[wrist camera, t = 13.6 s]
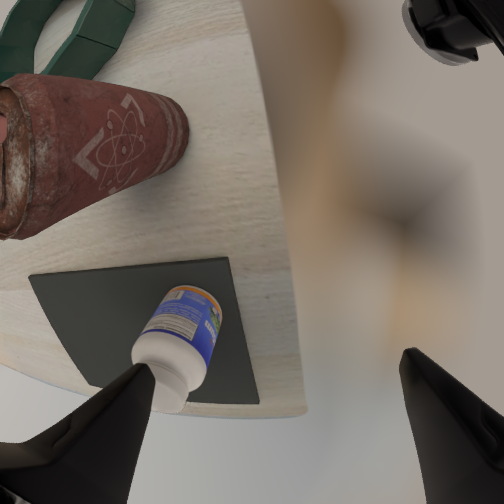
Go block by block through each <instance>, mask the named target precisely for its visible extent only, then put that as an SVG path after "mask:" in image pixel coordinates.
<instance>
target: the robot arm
mask: <svg viewBox="0 0 504 504" xmlns="http://www.w3.org/2000/svg"><path fill="white" fill-rule="evenodd" d="M411 3H412V4H411V5H412V8H413V10H414V13H415V16H416V19H417V22H418V25H419V27H420V30H421V33H422V37H423V40H424V44H425V46H426V47H427V48H428V49H430V50H435V51H439V52H443V53H447V54H451V55H454V56H458V57H461V58H465V59H468V60H471V61H478V54H477V50H476V47H478V46H481V45H485V44H488V43H493V42H494V43H495V44H496V46H497V47H498V48H499V50H500V51H501V52H502V54H503V55H504V0H411ZM429 43H430V44H431V46H430V45H429ZM399 373H400V377H401V383H402V388H403V394H404V400H405V406H406V410H407V414H408V417H409V421H410V425H411V429H412V433H413V437H414V441H415V445H416V449H417V454H418V458H419V463H420V467H421V473H422V478H423V483H424V489H425V495H426V501H427V504H504V417H503V416H502V415H500V414H499V413H498V412H496V411H495V410H494V409H492V408H491V407H490V406H489V405H487V404H486V403H485V402H484V401H482V400H481V399H480V398H479V397H478V396H477V395H475V394H474V393H473V392H472V391H470V390H469V389H468V388H467V387H465V386H464V385H463V384H462V383H461V382H459V381H458V380H457V379H456V378H454V377H453V376H452V375H450V374H449V373H448V372H447V371H445V370H444V369H443V368H442V367H440V366H439V365H438V364H437V363H435V362H434V361H433V360H432V359H430V358H429V357H428V356H426V355H425V354H424V353H422V352H421V351H420V350H419V349H417V348H415V347H412V348H408V349H405V350H404V352H403V355H402V358H401V361H400V365H399ZM155 385H156V379H155V376H154V375H153V373H152V371H151V369H150V367H149V366H148V365H147V364H146V363H136V364H134V365H133V366H132V367H130V368H129V369H128V370H127V371H125V372H124V373H123V374H121V375H120V376H119V377H118V378H116V379H115V380H114V381H112V382H111V383H110V384H108V385H107V386H106V387H104V388H103V389H102V390H101V391H99V392H98V393H97V394H95V395H94V396H93V397H91V398H90V399H89V400H87V401H86V402H85V403H83V404H82V405H81V406H80V407H78V408H77V409H76V410H74V411H73V412H72V413H70V414H69V415H67V416H66V417H65V418H63V419H62V420H61V421H59V422H58V423H56V424H55V425H53V426H52V427H50V428H48V429H47V430H45V431H43V432H42V433H40V434H38V435H37V436H35V437H33V438H32V439H30V440H28V441H26V442H23V443H5V442H0V504H127V500H128V496H129V491H130V487H131V483H132V479H133V475H134V471H135V467H136V464H137V460H138V456H139V452H140V448H141V445H142V441H143V438H144V434H145V431H146V427H147V424H148V420H149V417H150V412H151V406H152V401H153V395H154V390H155Z"/></svg>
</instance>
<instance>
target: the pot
mask: <svg viewBox="0 0 504 504" xmlns="http://www.w3.org/2000/svg"><path fill="white" fill-rule="evenodd" d="M62 1H63V0H18V1H17V2H16V4H15V5H14V6H13V8H12V9H11V11H10V12H9V15H8V16H7V18H6V20H5V22H4V24H3V27H2V30H1V31H0V83H3V82H4V81H6V80H8V79H10V78H12V77H14V76H16V75H18V74H20V73H26V74H34V73H33V62H34V47H35V45H36V42H37V40H38V37H39V35H40V32H41V30H42V28H43V26H44V23H45V22H46V20H47V19H48V18H49V16H50V15H51V14H52V13H53V11H54V10H55V9H56V8H57V7H58V6H59V4H60V3H61V2H62ZM134 13H135V0H88V1H87V2H86V4H85V6H84V8H83V10H82V12H81V14H80V16H79V18H78V20H77V22H76V24H75V26H74V28H73V31H72V33H71V34H70V36H69V37H68V38H67V39H66V41H65V42H64V43H63V45H62V46H61V47H60V48H59V50H58V51H57V52H56V54H55V55H54V57H53V58H52V59H51V61H50V62H49V64H48V65H47V67H46V68H45V70H44V71H42V72H41V73H40V74H43V75H55V76H64V77H73V78H80V79H87V80H92V78H93V77H94V76H95V75H96V74H97V72H98V71H99V70H100V69H101V68H102V66H103V65H104V64H105V63H106V62H107V61H108V60H109V59H110V58H111V56H112V55H113V54H114V53H115V52H116V51H117V49H118V48H119V46H120V44H121V41H122V39H123V37H124V35H125V33H126V30H127V28H128V26H129V24H130V22H131V20H132V18H133V16H134Z"/></svg>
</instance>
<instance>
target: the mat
mask: <svg viewBox="0 0 504 504" xmlns="http://www.w3.org/2000/svg"><path fill="white" fill-rule="evenodd" d="M28 279H29V281H30V283H31V285H32V288H33V290H34V292H35V294H36V296H37V298H38V301H39V303H40V305H41V307H42V309H43V311H44V313H45V315H46V316H47V318H48V320H49V322H50V324H51V326H52V328H53V329H54V331H55V333H56V335H57V336H58V338H59V340H60V341H61V343H62V345H63V346H64V348H65V350H66V351H67V353H68V354H69V356H70V357H71V359H72V361H73V362H74V364H75V365H76V367H77V368H78V369H79V371H80V372H81V374H82V375H83V377H84V378H85V379H86V381H87V382H88V384H89V385H91V386H96V387H100V388H104V387H106V386H107V385H108V384H110V383H111V382H112V381H114V380H115V379H116V378H118V377H119V376H120V375H121V374H123V373H124V372H125V371H127V370H128V369H129V368H130V367H132V366H133V362H132V356H131V354H132V348H133V346H134V344H135V342H136V341H137V339H138V337H139V336H140V334H141V333H142V331H143V330H144V328H145V327H146V325H147V324H148V322H149V320H150V319H151V317H152V316H153V314H154V313H155V311H156V310H157V308H158V307H159V305H160V303H161V302H162V300H163V299H164V297H165V296H166V295H167V293H168V292H169V291H170V290H172V289H173V288H175V287H178V286H182V285H190V286H195V287H198V288H201V289H203V290H205V291H207V292H208V293H210V294H211V295H212V296H213V297H214V298H215V299H216V301H217V302H218V304H219V305H220V308H221V311H222V321H221V326H220V329H219V332H218V336H217V339H216V342H215V345H214V349H213V352H212V355H211V359H210V362H209V366H208V369H207V372H206V375H205V378H204V380H203V382H202V384H201V385H200V386H199V387H198V388H197V389H195V390H193V391H191V392H189V394H188V397H187V399H186V401H188V402H200V403H217V404H259V402H260V400H259V396H258V392H257V388H256V383H255V379H254V375H253V371H252V366H251V362H250V357H249V353H248V349H247V344H246V340H245V335H244V331H243V326H242V322H241V317H240V312H239V308H238V303H237V298H236V293H235V289H234V284H233V279H232V274H231V269H230V264H229V259H228V257H222V258H211V259H200V260H190V261H179V262H168V263H157V264H147V265H136V266H125V267H114V268H103V269H92V270H81V271H70V272H58V273H47V274H36V275H30V276H29V277H28Z"/></svg>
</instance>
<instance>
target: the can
mask: <svg viewBox="0 0 504 504" xmlns="http://www.w3.org/2000/svg"><path fill="white" fill-rule="evenodd" d="M188 136H189V127H188V122H187V117H186V115H185V113H184V112H183V110H182V108H181V107H180V106H179V105H178V104H177V103H176V102H175V101H173V100H172V99H171V98H168V97H165V96H162V95H159V94H155V93H151V92H147V91H143V90H139V89H134V88H130V87H125V86H121V85H116V84H110V83H105V82H99V81H93V80H87V79H80V78H73V77H64V76H55V75H43V74H26V73H20V74H18V75H16V76H14V77H12V78H10V79H8V80H6V81H4V82H3V83H0V239H1V240H6V239H8V238H10V239H18V240H23V239H26V238H29V237H32V236H34V235H36V234H38V233H39V232H41V231H43V230H45V229H46V228H48V227H50V226H52V225H53V224H55V223H57V222H59V221H61V220H62V219H64V218H66V217H68V216H70V215H72V214H74V213H76V212H78V211H79V210H81V209H83V208H85V207H87V206H89V205H91V204H93V203H95V202H98V201H100V200H102V199H104V198H106V197H108V196H110V195H112V194H115V193H117V192H119V191H121V190H123V189H126V188H128V187H130V186H133V185H135V184H137V183H140V182H142V181H144V180H147V179H149V178H152V177H154V176H157V175H159V174H162V173H164V172H166V171H167V170H169V169H170V168H172V167H173V166H174V165H175V164H176V163H177V162H178V161H179V159H180V158H181V157H182V156H183V153H184V151H185V148H186V146H187V144H188Z"/></svg>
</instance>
